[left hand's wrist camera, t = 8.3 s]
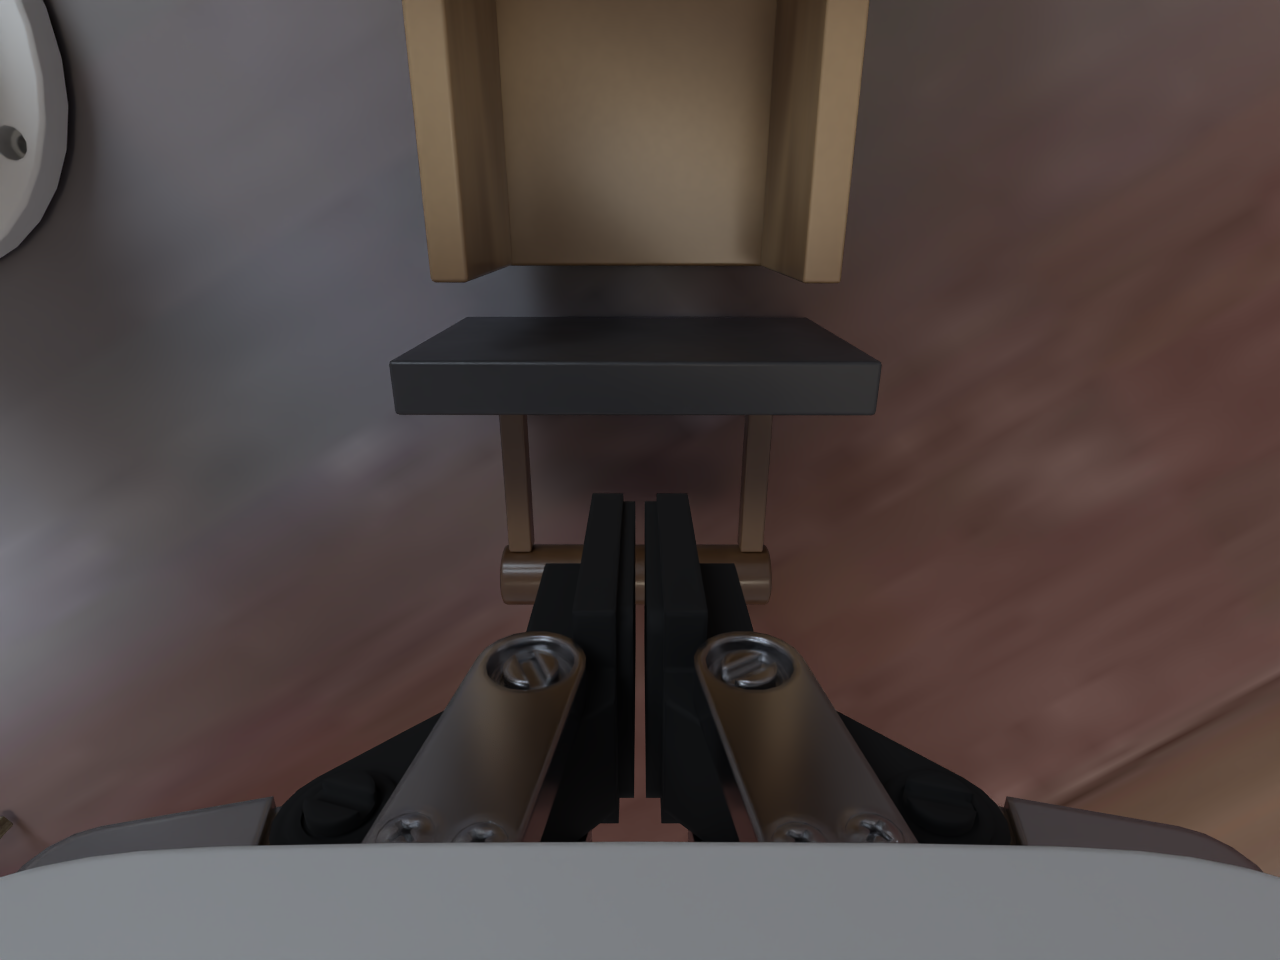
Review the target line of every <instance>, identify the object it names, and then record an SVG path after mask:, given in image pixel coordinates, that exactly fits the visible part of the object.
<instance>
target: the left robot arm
mask: <svg viewBox="0 0 1280 960" xmlns="http://www.w3.org/2000/svg"><path fill="white" fill-rule="evenodd" d="M67 128H68V100H67V93H66V86H65V78H64V71H63V64H62V58H61V54H60V51H59V48H58V45H57V41H56V38H55V35H54V31H53V28H52V25H51V22H50V18H49V15H48V12H47V9H46V6H45V4H44V2H43V0H0V258H1V257H3V256H4V255H6V254H7V253H9V252H10V251H12V250H13V249H15V248H16V247H18V246H19V244H20V243H21V242H22V241H23V240H24V239H25V238H26V237H27V235H28V234H29V233H30V232H31V231H32V230H33V229H34V228H35V226H36V225H37V224H38V223H39V222H40V221H41V219H42V217H43V215H44V213H45V211H46V209H47V207H48V205H49V203H50V201H51V199H52V197H53V195H54V193H55V191H56V189H57V187H58V183H59V179H60V175H61V170H62V166H63V162H64V158H65V154H66V150H67ZM635 644H636V629H635V501H623V494H593V495H592V500H591V506H590V512H589V518H588V523H587V529H586V535H585V541H584V546H583V552H582V558H581V563H546V564H545V567H544V570H543V574H542V577H541V581H540V584H539V588H538V592H537V595H536V599H535V602H534V606H533V610H532V613H531V617H530V620H529V624H528V628H527V631H526V632H524V633H518V634H513V635H510V636H508V637H505V638H502V639H499V640H498V641H496V642H494V643H493V644H491V645H490V646H488V647H486V648H485V649H484V651H483V652H482V653H481V654H480V655H479V656H478V657H477V659H476V660H475V662H474V664H473V665H472V667H471V668H470V670H469V672H468V673H467V675H466V676H465V678H464V680H463V681H462V683H461V684H460V686H459V688H458V689H457V691H456V692H455V694H454V696H453V697H452V699H451V700H450V702H449V704H448V705H447V707H446V708H445V710H444V711H442V712H440V713H439V714H437V715H435V716H433V717H431V718H429V719H427V720H425V721H423V722H422V723H420V724H418V725H416V726H414V727H412V728H410V729H408V730H406V731H404V732H403V733H401V734H399V735H397V736H395V737H393V738H391V739H389V740H387V741H386V742H384V743H382V744H380V745H378V746H376V747H374V748H372V749H370V750H368V751H367V752H365V753H363V754H361V755H359V756H357V757H355V758H353V759H351V760H350V761H348V762H346V763H344V764H342V765H340V766H338V767H336V768H334V769H332V770H331V771H329V772H327V773H325V774H323V775H321V776H319V777H317V778H316V779H314V780H313V781H311V782H310V783H308V784H307V785H305V786H303V787H302V788H300V789H299V790H298V791H297V792H296V793H295V794H293V795H292V796H291V797H290V798H289V799H288V800H287V801H286V802H285V803H284V804H283V805H282V806H281V807H276V805H275V801H274V797H267V798H261V799H255V800H250V801H244V802H238V803H232V804H227V805H221V806H215V807H209V808H204V809H198V810H192V811H186V812H181V813H175V814H169V815H163V816H158V817H152V818H146V819H140V820H134V821H129V822H123V823H117V824H111V825H106V826H100V827H97V828H93V829H90V830H87V831H83V832H80V833H76V834H74V835H72V836H70V837H68V838H66V839H64V840H62V841H60V842H58V843H56V844H54V845H52V846H50V847H48V848H46V849H45V850H43V851H42V852H41V853H39V854H38V855H37V856H35V857H34V858H33V859H31V860H30V861H28V862H27V863H26V864H24V865H23V866H22V867H21V868H20V869H19V870H18V871H17V873H14V874H10V875H7V876H3V877H0V960H1280V877H1277V876H1273V875H1270V874H1266V873H1263V871H1262V870H1261V869H1260V868H1259V867H1258V866H1257V865H1256V864H1254V863H1253V862H1252V861H1250V860H1249V859H1247V858H1246V857H1245V856H1243V855H1242V854H1241V853H1239V852H1238V851H1237V850H1235V849H1234V848H1232V847H1230V846H1228V845H1226V844H1224V843H1222V842H1220V841H1218V840H1216V839H1214V838H1212V837H1210V836H1208V835H1206V834H1204V833H1200V832H1197V831H1193V830H1190V829H1187V828H1183V827H1180V826H1174V825H1169V824H1163V823H1157V822H1151V821H1145V820H1140V819H1134V818H1128V817H1122V816H1117V815H1111V814H1105V813H1099V812H1094V811H1088V810H1082V809H1076V808H1071V807H1065V806H1059V805H1053V804H1048V803H1042V802H1036V801H1030V800H1025V799H1019V798H1013V797H1006V801H1005V805H1004V807H999V806H998V805H997V804H996V803H995V802H994V801H993V800H992V799H991V798H990V797H989V796H988V795H986V794H985V793H984V792H983V791H982V790H981V789H980V788H978V787H977V786H975V785H973V784H972V783H970V782H969V781H967V780H966V779H964V778H963V777H961V776H959V775H957V774H955V773H953V772H951V771H949V770H948V769H946V768H944V767H942V766H940V765H938V764H936V763H934V762H932V761H930V760H929V759H927V758H925V757H923V756H921V755H919V754H917V753H915V752H913V751H912V750H910V749H908V748H906V747H904V746H902V745H900V744H898V743H896V742H894V741H893V740H891V739H889V738H887V737H885V736H883V735H881V734H879V733H877V732H876V731H874V730H872V729H870V728H868V727H866V726H864V725H862V724H860V723H858V722H857V721H855V720H853V719H851V718H849V717H847V716H845V715H843V714H841V713H840V712H838V711H836V710H835V708H834V707H833V705H832V704H831V702H830V700H829V699H828V697H827V696H826V694H825V692H824V691H823V689H822V688H821V686H820V684H819V683H818V681H817V680H816V678H815V676H814V675H813V673H812V672H811V670H810V668H809V667H808V665H807V664H806V662H805V660H804V659H803V657H802V656H801V655H800V654H799V653H798V652H797V651H796V649H795V648H794V647H792V646H790V645H789V644H787V643H786V642H784V641H782V640H781V639H778V638H775V637H772V636H770V635H767V634H762V633H756V632H754V631H753V628H752V624H751V620H750V617H749V613H748V610H747V606H746V602H745V599H744V595H743V592H742V588H741V584H740V581H739V577H738V574H737V570H736V567H735V564H734V563H699V558H698V552H697V546H696V541H695V535H694V529H693V523H692V518H691V512H690V506H689V500H688V495H687V494H657V501H645V629H644V644H645V744H646V798H661V823H680V824H682V825H683V826H684V827H685V828H687V829H688V842H592V829H593V828H595V827H596V826H597V825H598V824H600V823H619V798H634V744H635Z"/></svg>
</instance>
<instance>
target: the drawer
mask: <svg viewBox="0 0 1280 960" xmlns="http://www.w3.org/2000/svg"><path fill="white" fill-rule="evenodd" d="M869 1H870V0H402V6H403V16H404V26H405V35H406V45H407V54H408V64H409V74H410V83H411V93H412V102H413V112H414V122H415V131H416V141H417V151H418V160H419V170H420V179H421V189H422V199H423V208H424V218H425V227H426V237H427V247H428V256H429V266H430V275H431V279H432V281H434V282H467V281H470V280H473V279H475V278H478V277H481V276H483V275H486V274H489V273H491V272H494V271H497V270H499V269H502V268H505V267H507V266H763V267H765V268H768V269H771V270H773V271H776V272H778V273H781V274H783V275H786V276H788V277H791V278H793V279H796V280H798V281H801V282H803V283H839V282H840V281H841V272H842V262H843V253H844V243H845V233H846V224H847V214H848V204H849V195H850V185H851V175H852V166H853V156H854V146H855V137H856V127H857V117H858V107H859V98H860V88H861V78H862V69H863V59H864V49H865V40H866V30H867V20H868V11H869ZM389 366H390V374H391V381H392V389H393V397H394V404H395V411H396V413H397V414H399V415H499V420H500V433H501V447H502V460H503V474H504V487H505V500H506V514H507V527H508V541H509V545H507V546H506V547H505V548H504V551H503V554H502V559H501V568H500V588H501V595H502V599H503V602H504V603H505V604H508V605H534V602H535V599H536V595H537V592H538V588H539V584H540V581H541V577H542V574H543V570H544V567H545V564H546V563H581V558H582V552H583V546H584V544H534V525H533V509H532V492H531V475H530V458H529V441H528V425H527V415H745V425H744V442H743V459H742V476H741V493H740V510H739V527H738V545H696V546H697V552H698V558H699V563H734V564H735V567H736V570H737V574H738V577H739V581H740V584H741V588H742V592H743V595H744V599H745V602H746V605H765V604H767V603H768V601H769V599H770V594H771V585H772V571H771V560H770V555H769V551H768V549H767V547H766V546H765V545H763V541H764V527H765V513H766V500H767V486H768V473H769V459H770V446H771V432H772V419H773V415H874V414H875V412H876V405H877V397H878V389H879V382H880V374H881V366H882V365H881V362H879V361H878V360H876V359H874V358H873V357H871V356H869V355H868V354H866V353H864V352H863V351H861V350H859V349H858V348H856V347H854V346H853V345H851V344H849V343H848V342H846V341H844V340H843V339H841V338H839V337H838V336H836V335H834V334H833V333H831V332H829V331H828V330H826V329H824V328H823V327H821V326H819V325H818V324H816V323H814V322H813V321H811V320H809V319H808V318H721V317H467V318H465V319H463V320H461V321H459V322H458V323H456V324H454V325H452V326H451V327H449V328H447V329H446V330H444V331H442V332H440V333H439V334H437V335H435V336H433V337H432V338H430V339H428V340H427V341H425V342H423V343H421V344H420V345H418V346H416V347H414V348H413V349H411V350H409V351H408V352H406V353H404V354H402V355H401V356H399V357H397V358H395V359H394V360H392V361H390V364H389ZM635 605H645V545H635Z"/></svg>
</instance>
